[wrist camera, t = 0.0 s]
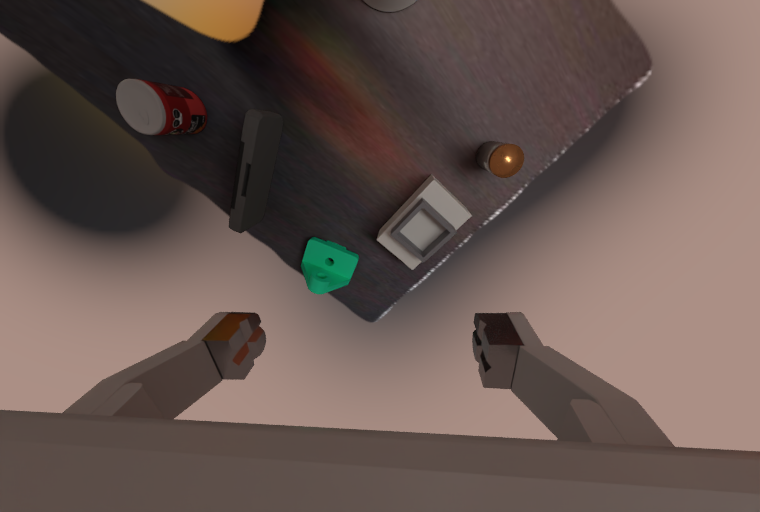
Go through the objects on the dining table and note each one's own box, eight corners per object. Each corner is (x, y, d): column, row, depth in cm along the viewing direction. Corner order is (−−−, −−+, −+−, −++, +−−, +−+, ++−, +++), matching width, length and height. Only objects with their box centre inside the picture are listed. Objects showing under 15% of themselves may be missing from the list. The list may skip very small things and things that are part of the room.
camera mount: (361, 253, 63) (352, 275, 53) (350, 278, 66) (340, 303, 57) (312, 233, 62) (295, 252, 52) (304, 260, 65) (287, 282, 56)
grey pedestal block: (412, 257, 62) (412, 277, 53) (379, 229, 59) (374, 245, 51) (465, 207, 55) (475, 220, 47) (431, 174, 53) (435, 182, 45)
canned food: (186, 138, 55) (137, 141, 45) (162, 96, 52) (104, 88, 42) (216, 126, 53) (172, 126, 43) (193, 81, 50) (141, 70, 40)
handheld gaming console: (271, 110, 51) (242, 106, 42) (285, 116, 51) (259, 113, 42) (252, 215, 61) (225, 230, 52) (263, 220, 61) (238, 236, 52)
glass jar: (477, 142, 50) (492, 145, 41) (505, 140, 49) (526, 142, 40) (475, 169, 52) (488, 178, 43) (501, 168, 51) (521, 176, 42)
